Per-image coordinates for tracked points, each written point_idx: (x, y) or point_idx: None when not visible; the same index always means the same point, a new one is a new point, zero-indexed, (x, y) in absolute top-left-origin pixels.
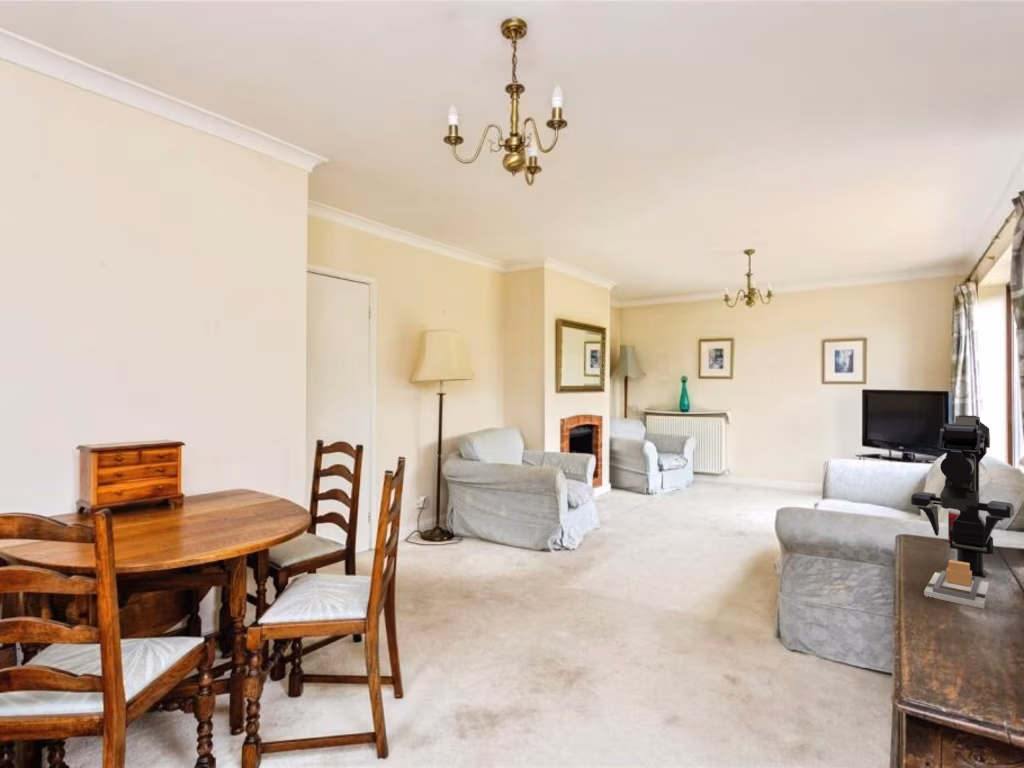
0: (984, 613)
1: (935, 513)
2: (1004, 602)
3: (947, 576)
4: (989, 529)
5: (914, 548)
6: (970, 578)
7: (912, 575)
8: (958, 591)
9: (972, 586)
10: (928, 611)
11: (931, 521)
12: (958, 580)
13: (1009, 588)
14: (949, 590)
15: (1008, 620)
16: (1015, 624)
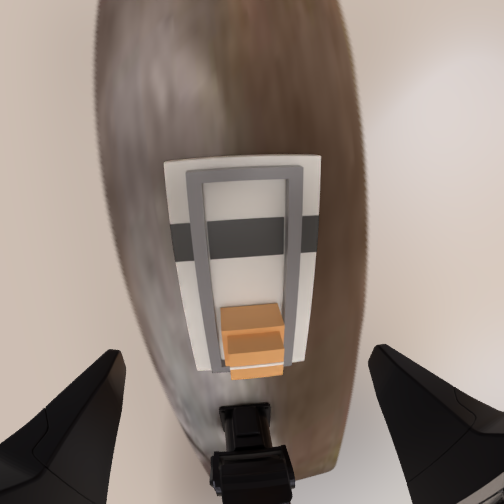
0: (159, 116)
1: (446, 464)
2: (142, 273)
3: (277, 312)
4: (41, 420)
5: (327, 448)
6: (221, 322)
7: (345, 323)
8: (238, 230)
9: (210, 284)
10: (284, 15)
11: (452, 392)
12: (249, 312)
13: (168, 379)
14: (257, 177)
15: (108, 110)
16: (94, 92)
